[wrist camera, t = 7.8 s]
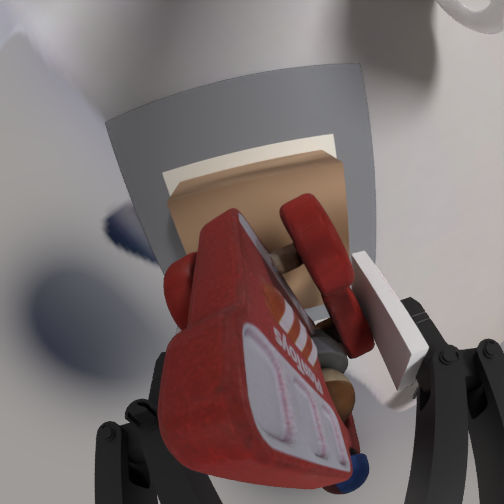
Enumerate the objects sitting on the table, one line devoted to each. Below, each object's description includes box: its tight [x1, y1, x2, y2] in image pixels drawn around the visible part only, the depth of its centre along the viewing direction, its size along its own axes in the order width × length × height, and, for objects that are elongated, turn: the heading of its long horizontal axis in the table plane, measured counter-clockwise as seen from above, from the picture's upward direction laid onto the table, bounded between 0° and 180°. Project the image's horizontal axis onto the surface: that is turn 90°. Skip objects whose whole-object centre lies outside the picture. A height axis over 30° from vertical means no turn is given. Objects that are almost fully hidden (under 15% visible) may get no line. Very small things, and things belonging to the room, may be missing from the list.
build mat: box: [105, 63, 376, 321], centre depth 20 cm, size 22×18×1 cm
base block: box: [167, 150, 350, 309], centre depth 18 cm, size 10×10×4 cm
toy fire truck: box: [158, 193, 375, 494], centre depth 10 cm, size 7×12×10 cm, turn 28°
